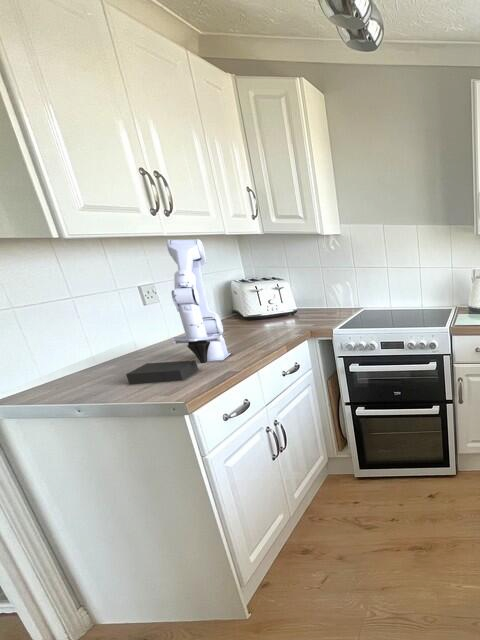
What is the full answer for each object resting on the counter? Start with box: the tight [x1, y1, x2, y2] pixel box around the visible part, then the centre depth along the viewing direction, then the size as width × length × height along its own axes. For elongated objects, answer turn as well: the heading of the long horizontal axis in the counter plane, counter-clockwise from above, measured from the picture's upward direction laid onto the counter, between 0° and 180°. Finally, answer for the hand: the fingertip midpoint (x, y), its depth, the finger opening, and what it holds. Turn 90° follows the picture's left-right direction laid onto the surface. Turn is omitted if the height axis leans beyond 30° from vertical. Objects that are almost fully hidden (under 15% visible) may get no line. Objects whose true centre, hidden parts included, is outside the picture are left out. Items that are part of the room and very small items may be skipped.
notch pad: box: [125, 360, 180, 385], centre depth 140 cm, size 12×10×4 cm
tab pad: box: [159, 359, 199, 382], centre depth 141 cm, size 12×8×4 cm, turn 15°
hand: (204, 362), depth 144 cm, fingers closed
